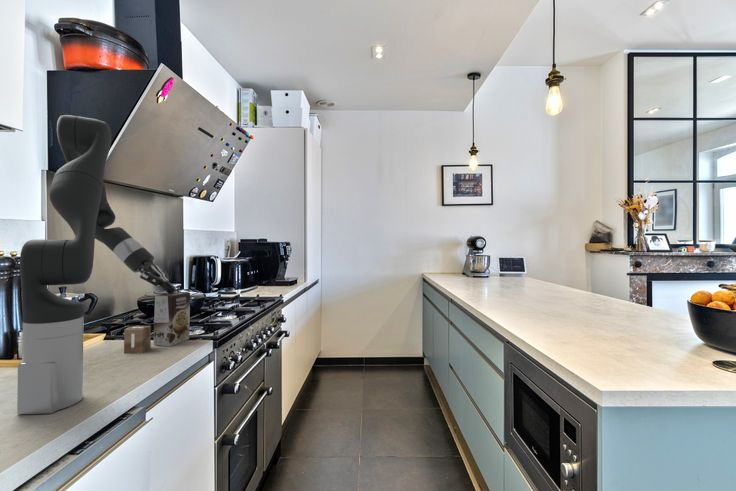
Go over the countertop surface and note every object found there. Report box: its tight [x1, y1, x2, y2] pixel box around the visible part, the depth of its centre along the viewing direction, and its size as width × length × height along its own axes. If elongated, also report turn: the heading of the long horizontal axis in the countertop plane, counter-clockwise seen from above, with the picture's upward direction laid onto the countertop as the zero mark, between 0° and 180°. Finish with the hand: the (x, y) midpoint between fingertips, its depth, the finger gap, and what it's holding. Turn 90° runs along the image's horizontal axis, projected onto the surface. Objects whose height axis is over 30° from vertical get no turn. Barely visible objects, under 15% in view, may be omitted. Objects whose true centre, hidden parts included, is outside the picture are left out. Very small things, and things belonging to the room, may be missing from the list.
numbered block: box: [123, 325, 152, 354], centre depth 107 cm, size 5×5×7 cm
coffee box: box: [152, 291, 191, 347], centre depth 116 cm, size 9×6×16 cm
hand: (173, 291), depth 116 cm, fingers closed
